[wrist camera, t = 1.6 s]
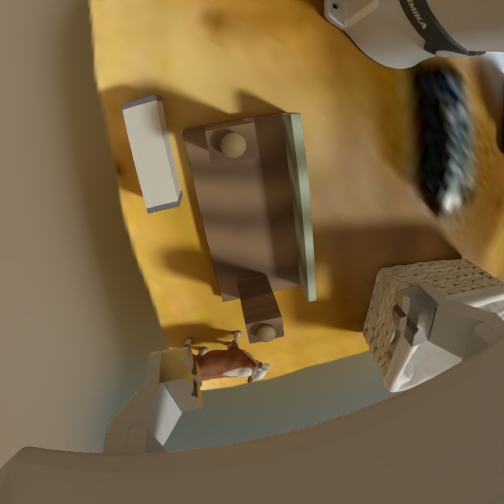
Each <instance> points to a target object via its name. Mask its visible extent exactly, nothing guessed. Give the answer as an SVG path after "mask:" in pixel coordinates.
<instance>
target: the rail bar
mask: <svg viewBox="0 0 504 504" xmlns="http://www.w3.org/2000/svg"><path fill="white" fill-rule="evenodd" d="M121 106H122V110H123V115H124V120H125V125H126V129H127V134H128V138H129V143H130V147H131V151H132V155H133V159H134V163H135V167H136V171H137V175H138V179H139V183H140V186H141V190H142V194H143V197H144V201H145V205H146V208H147V212H148V214H149V213H153V212H157V211H161V210H165V209H169V208H174V207H178V206H179V205H180V201H181V197H182V191H181V187H180V183H179V179H178V174H177V170H176V166H175V161H174V157H173V152H172V148H171V143H170V138H169V134H168V129H167V124H166V119H165V114H164V109H163V104H162V99H161V97H160V96H157V95H152V96H148V97H145V98H141V99H138V100H135V101H131V102H128V103H125V104H122V105H121Z"/></svg>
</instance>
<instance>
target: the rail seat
mask: <svg viewBox="0 0 504 504" xmlns="http://www.w3.org/2000/svg"><path fill="white" fill-rule="evenodd" d="M183 135H184V140H185V145H186V150H187V154H188V159H189V164H190V168H191V173H192V177H193V182H194V186H195V191H196V195H197V200H198V204H199V208H200V213H201V217H202V221H203V225H204V230H205V234H206V238H207V242H208V246H209V250H210V254H211V258H212V262H213V266H214V270H215V274H216V278H217V282H218V286H219V289H220V293H221V297H222V301H223V302H225V301H230V300H235V299H240V300H241V305H242V310H243V315H244V320H245V325H246V329H247V334H248V338H249V342H250V344H251V343H256V342H260V341H262V342H269V341H271V340H273V339H274V338H278V337H282V336H284V331H283V323H282V316H281V313H280V311H279V308H278V305H277V302H276V299H275V297H274V294H273V291H277V290H282V289H286V288H290V287H295V286H299V285H301V287H302V289H303V291H304V293H305V295H306V297H307V299H308V301H309V302H311V301H315V300H316V281H315V262H314V245H313V231H312V218H311V205H310V194H309V183H308V173H307V164H306V154H305V146H304V137H303V129H302V121H301V114H300V113H291V112H285V113H277V114H269V115H262V116H255V117H249V118H242V119H236V120H231V121H225V122H220V123H215V124H209V125H205V126H200V127H195V128H191V129H186V130H183Z"/></svg>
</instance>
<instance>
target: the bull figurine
mask: <svg viewBox="0 0 504 504" xmlns="http://www.w3.org/2000/svg"><path fill="white" fill-rule="evenodd" d="M240 335H241V331H236V333H234V335H233V337H234V340H233V341H232V343H230V344H228V345H227V348H228V350H213V351H209V352H207V351H208V348H206V347H204V348H203V349H202V350H199V352H198V354H197V355H194V354H193V360H195V361H196V362H197V364H198V366H199V369H200V373H201V378H202V381H205V380H209V379H214V378H223V377H237V376H242V377H246V376H249V378H248V383H250V382H252V381H253V379H256V380H260V379H261V378H262V377H264V375H265V374H266V373H267V371H268V370H269V369H270V366H269V364H268V363H265V364H262V362H259V361H257V360H255V359H254V358H253V357H252V356H251V354H249V353H248V352H246V351H245V350H243V349H239V348H238V338H239V336H240ZM192 341H193V340H192V338H188V339H187V341H186V342H184V344H185V345H184V347H189V346H190V344H191V343H192ZM206 352H207V353H206ZM204 353H205V354H204Z"/></svg>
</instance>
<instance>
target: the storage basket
mask: <svg viewBox="0 0 504 504" xmlns="http://www.w3.org/2000/svg"><path fill="white" fill-rule="evenodd" d="M423 281H428V282H429V283H430V284H431V285H433V286H434V287H435V288H436V289H437V290H438V291H439V292H440V293H441V294H442V295H443V296H444V297H446V298H447V299H448V300H449V301H450V300H454V301H457V302H461V303H464V304H467V305H470V306H474V307H477V308H480V309H483V310H484V309H485V307H488V308H490V309H491V310H492V311H494V313H496V314H497V315H498V316H499V317H500V318H501V319H503V320H504V283H503V282H502V281H500V280H499V279H497V278H494V277H493V276H492V275H490V274H488V272H486V271H484V270H483V269H481V268H480V267H479V266H476V265H475V264H474V263H472V262H470V261H468V260H467V259H456V260H439V261H430V262H418V263H415V264H410V265H409V264H408V265H404V266H401V265H396V266H393V267H384V268H381V269H380V270H379V271H378V273H377V276H376V280H375V285H374V288H373V293H372V297H371V300H370V304H369V309H368V311H367V316H366V320H365V322H364V328H363V336H364V337H365V340H366V342H367V344H368V345H369V348H370V351H371V352H372V354H373V358H374V360H375V362H376V363H378V364H377V365H378V367H379V368H380V371H381V373H382V374H383V377H384V381H383V384H384V386H385V387H386V388H388V390H389V391H390V392H398V391H402V390H407V389H410V388H412V387H414V386H416V385H418V384H420V383H422V382H424V381H426V380H428V379H430V378H432V377H434V376H436V375H438V374H440V373H442V372H444V371H446V370H448V369H449V368H451V367H453V366H455V365H457V364H458V363H460V362H461V361H462V358H460V357H458V356H456V355H454V354H452V353H450V352H448V351H446V350H444V349H442V348H440V347H438V346H436V345H434V344H433V343H431V342H429V340H428V341H426V342H423V343H421V344H419V345H416V346H414V347H411V345H410V344H409V343H408V341H407V340H406V339H405V338H404V332H403V331H400V330H398V329H397V327H396V326H395V324H394V322H393V317H392V311H393V308H394V306H395V305H396V302H395V301H394V295H395V293H396V291H399V290H402V289H405V288H408V287H410V286H413V285H416V284H418V283H421V282H423ZM366 328H368V329H367V330H366Z"/></svg>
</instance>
